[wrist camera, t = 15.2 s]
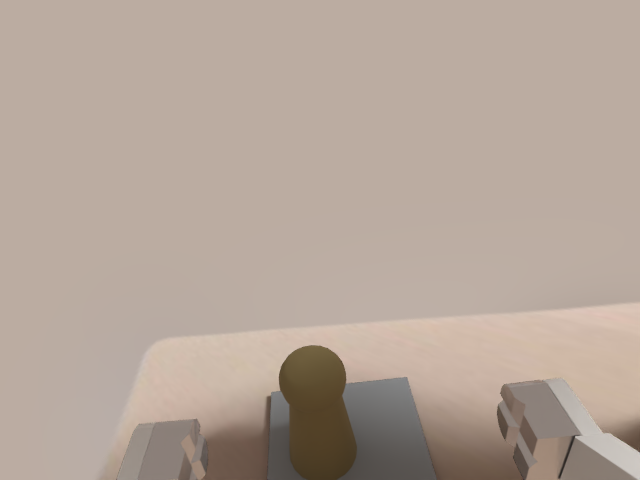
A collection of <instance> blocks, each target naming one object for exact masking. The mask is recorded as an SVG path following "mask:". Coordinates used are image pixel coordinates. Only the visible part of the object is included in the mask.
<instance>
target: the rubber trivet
mask: <svg viewBox="0 0 640 480" xmlns="http://www.w3.org/2000/svg"><path fill="white" fill-rule="evenodd" d="M342 397H343V400H344V403H345V407H346V410H347V413H348V417H349V420H350V423H351V427H352V430H353V433H354V437H355V440H356V444H357V454H356V459H355V461H354V463H353V465H352V467H351V468H350V469H349V471H348V472H347V473H346V474H345V475H344V476H342V477H340V478H338V479H337V480H437V478H436V474H435V471H434V468H433V464H432V461H431V457H430V454H429V450H428V447H427V444H426V440H425V437H424V433H423V430H422V427H421V423H420V420H419V416H418V413H417V410H416V406H415V403H414V399H413V396H412V393H411V389H410V386H409V382H408V379H407V377H403V378H394V379H385V380H376V381H367V382H358V383H349V384H345V389H344V393H343V394H342ZM267 480H307V479H305V478H303V477H302V476H301V475H300V474H299V473H298V472H297V471H296V470H295V469H294V467H293V465H292V463H291V461H290V451H289V404H288V403H287V401H286V400H285V398H284V396H283V394H282V392H281V391H277V392H271V412H270V432H269V452H268V471H267Z"/></svg>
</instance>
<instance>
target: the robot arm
mask: <svg viewBox="0 0 640 480" xmlns="http://www.w3.org/2000/svg"><path fill="white" fill-rule="evenodd" d="M500 394H501V396H502V398H503V401H502V402H501V403H499V404H498V410H497V416H498V424H499V427H500V430H501V433H502V435H503V437H504V439H505V441H506V442H507V443H508V444H510V445H511V446H512V447H514V448H515V451H514V456H513V459H514V461H515V463H516V465H517V467H518V469H519V471H520V473H521V475H522V477H523V479H524V480H640V452H638V451H637V450H635V449H634V448H632V447H630V446H629V445H627V444H626V443H624V442H623V441H621V440H619V439H618V438H616V437H615V436H613V435H612V434H610V433H602V431H601V430H600V428H599V427H598V426H597V424H596V423H595V421H594V420H593V418H592V417H591V416H590V414H589V413H588V411H587V410H586V409H585V407H584V406H583V404H582V403H581V401H580V400H579V399H578V397H577V396H576V394H575V393H574V392H573V390H572V389H571V387H570V386H569V384H568V383H567V382H566V381H565V380H564V379H562V378H555V379H547V380H534V381H526V382H518V383H510V384H504V385H503V386H502V388H501V393H500ZM199 431H200V424H199V422H198V420H197V419H190V420H178V421H167V422H155V423H146V424H138V426H137V427H136V429H135V430H134V432H133V434H132V437H131V440H130V443H129V445H128V448H127V451H126V454H125V457H124V459H123V462H122V465H121V468H120V470H119V473H118V476H117V479H116V480H202V478H203V477H204V476H205V475H206V470H207V464H208V448H207V443H206V440H205V437H204V436H202V435H200V434H199Z"/></svg>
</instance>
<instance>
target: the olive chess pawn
mask: <svg viewBox="0 0 640 480" xmlns="http://www.w3.org/2000/svg"><path fill="white" fill-rule="evenodd" d="M345 384H346V372H345V368H344V365H343V363H342V361H341V360H340V358H339V357H338V356H337V355H336V354H335V353H334V352H332V351H331V350H329V349H328V348H325V347H322V346H314V345H311V346H305V347H302V348H299V349H297V350H295V351H294V352H292V353H291V354H290V355H289V356H288V357H287V358H286V360H285V361H284V363H283V364H282V366H281V370H280V373H279V385H280V390H281V392H282V394H283V396H284V398H285V400H286V401H287V403H288V404H289V451H290V461H291V463H292V465H293V467H294V469H295V470H296V471H297V472H298V473H299V474H300V475H301V476H302V477H303V478H305V479H307V480H337V479H338V478H340V477H342V476H344V475H345V474H346V473H347V472H348V471H349V469H350V468H351V467H352V465H353V463H354V461H355V459H356V454H357V444H356V440H355V437H354V433H353V430H352V427H351V423H350V420H349V417H348V413H347V410H346V407H345V403H344V400H343V397H342V394H343V393H344V389H345Z"/></svg>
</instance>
